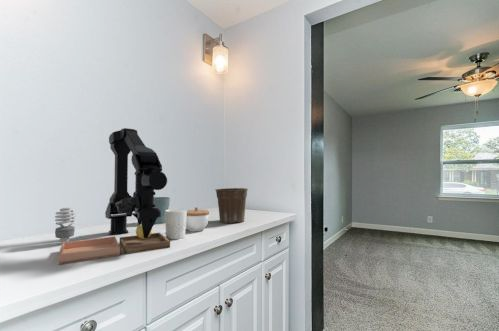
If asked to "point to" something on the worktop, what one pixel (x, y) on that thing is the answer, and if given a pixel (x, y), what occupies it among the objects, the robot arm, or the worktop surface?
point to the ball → (141, 232)
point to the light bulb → (65, 231)
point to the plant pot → (231, 204)
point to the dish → (88, 250)
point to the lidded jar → (197, 219)
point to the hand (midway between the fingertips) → (144, 236)
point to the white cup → (175, 223)
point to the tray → (143, 243)
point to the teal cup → (161, 208)
